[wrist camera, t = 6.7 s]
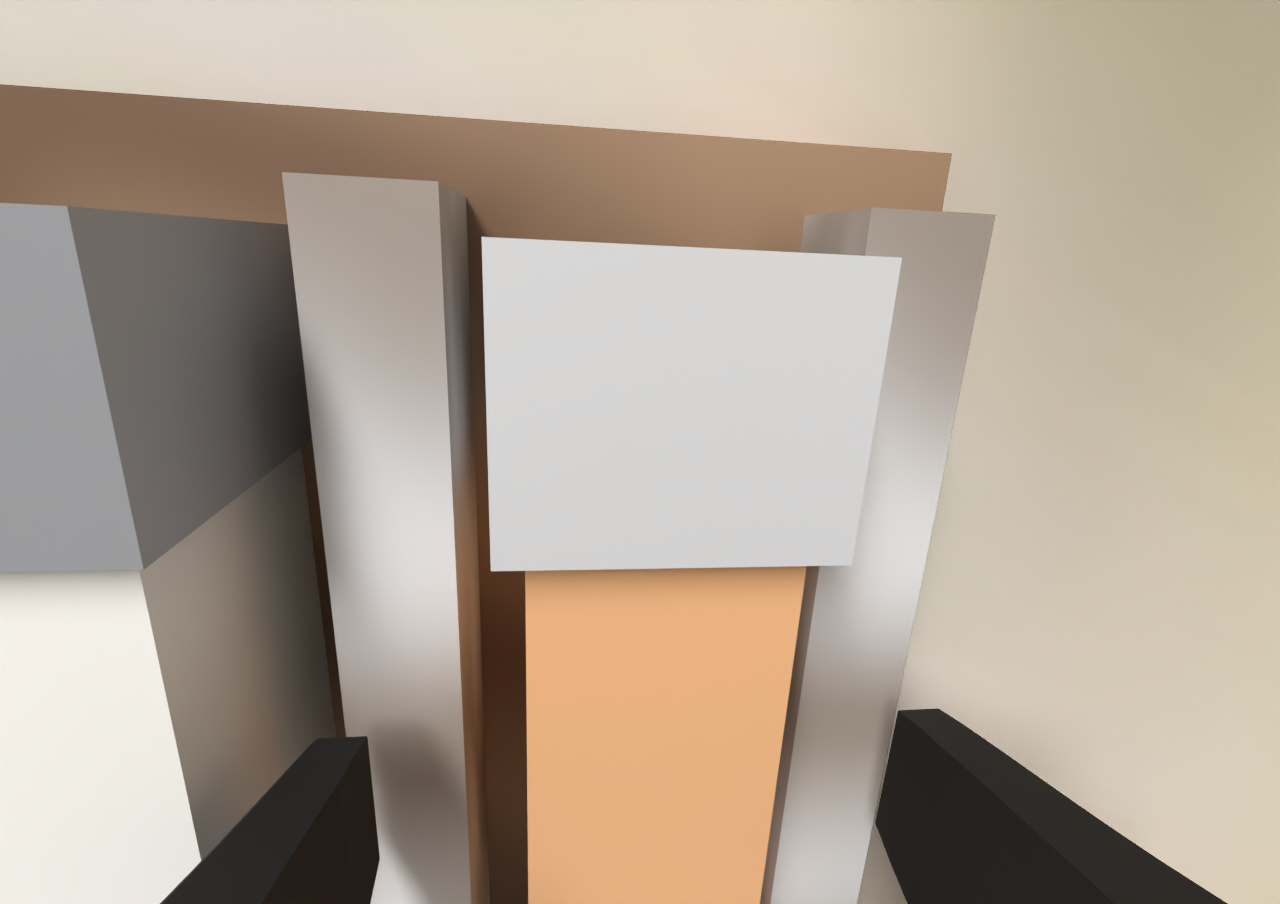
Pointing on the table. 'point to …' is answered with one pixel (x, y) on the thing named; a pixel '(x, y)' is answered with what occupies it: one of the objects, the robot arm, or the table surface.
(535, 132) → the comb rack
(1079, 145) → the table surface
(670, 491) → the capped square column
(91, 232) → the capped white pillar
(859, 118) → the table surface
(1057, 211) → the table surface
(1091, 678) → the table surface
